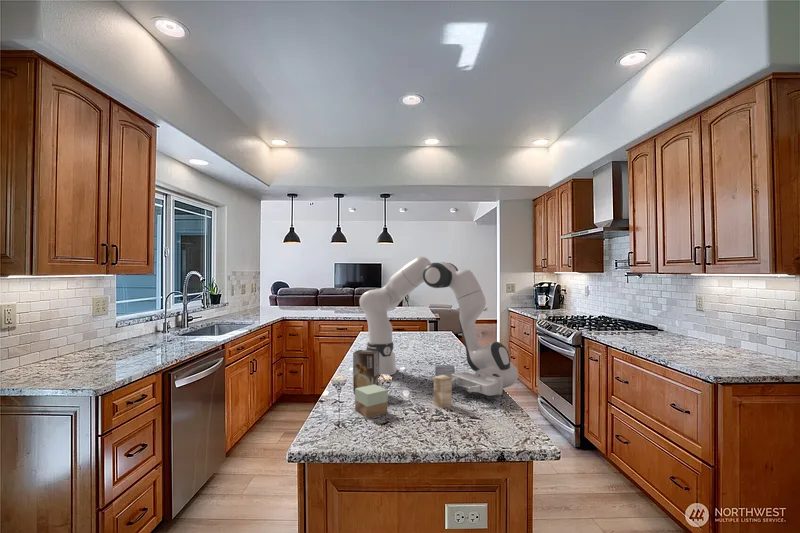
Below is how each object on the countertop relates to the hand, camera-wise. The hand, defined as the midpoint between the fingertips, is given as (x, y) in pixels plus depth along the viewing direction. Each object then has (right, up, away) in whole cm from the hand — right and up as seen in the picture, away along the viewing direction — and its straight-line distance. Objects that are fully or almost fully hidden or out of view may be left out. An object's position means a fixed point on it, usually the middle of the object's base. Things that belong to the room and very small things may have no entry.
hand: (458, 386), depth 147 cm
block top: (-31, -2, -11) cm, 33 cm away
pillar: (-6, -5, -5) cm, 10 cm away
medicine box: (-3, -6, +17) cm, 18 cm away
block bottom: (-31, -6, -11) cm, 34 cm away
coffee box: (-35, -6, +10) cm, 37 cm away
